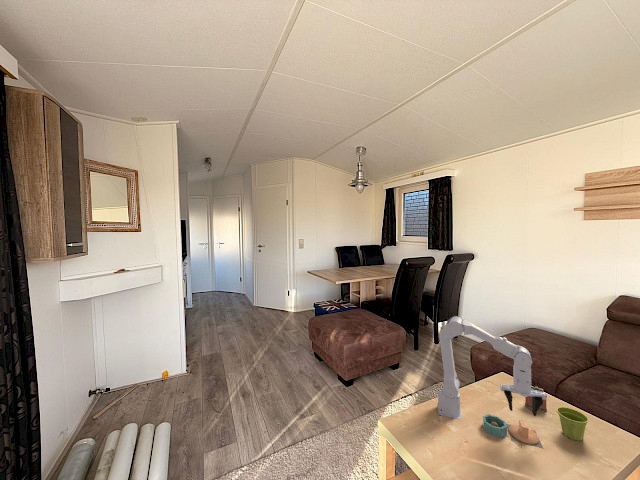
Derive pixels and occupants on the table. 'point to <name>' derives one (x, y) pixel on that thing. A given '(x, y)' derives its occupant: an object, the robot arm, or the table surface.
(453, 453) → the table surface
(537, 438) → the lid
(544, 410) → the lighter
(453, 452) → the table surface
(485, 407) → the table surface
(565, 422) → the plant pot
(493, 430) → the bowl
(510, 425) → the mat
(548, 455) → the table surface
